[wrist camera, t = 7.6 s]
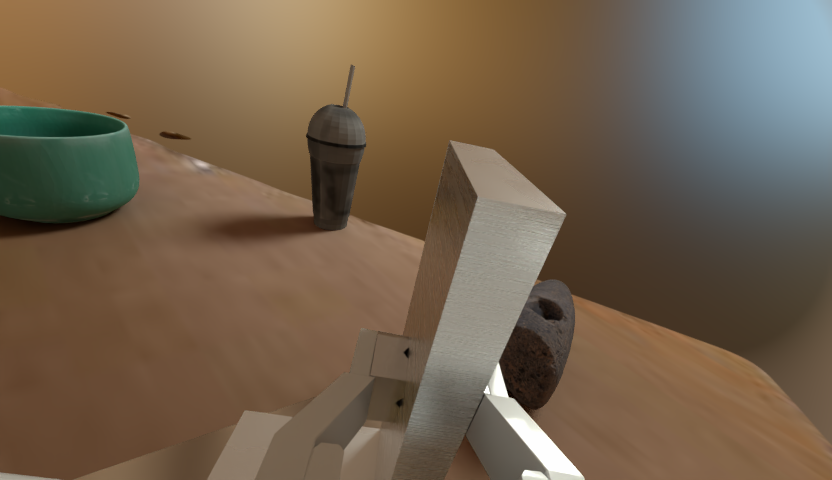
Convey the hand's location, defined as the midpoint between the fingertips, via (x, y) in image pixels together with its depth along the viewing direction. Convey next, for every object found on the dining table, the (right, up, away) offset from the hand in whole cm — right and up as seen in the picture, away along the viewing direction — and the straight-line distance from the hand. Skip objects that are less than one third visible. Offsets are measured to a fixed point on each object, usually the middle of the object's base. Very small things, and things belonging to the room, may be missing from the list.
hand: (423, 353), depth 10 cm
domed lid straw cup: (-12, +6, +33) cm, 36 cm away
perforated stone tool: (+10, -7, +18) cm, 22 cm away
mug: (-40, +7, +25) cm, 48 cm away
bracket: (-4, -7, +2) cm, 8 cm away
